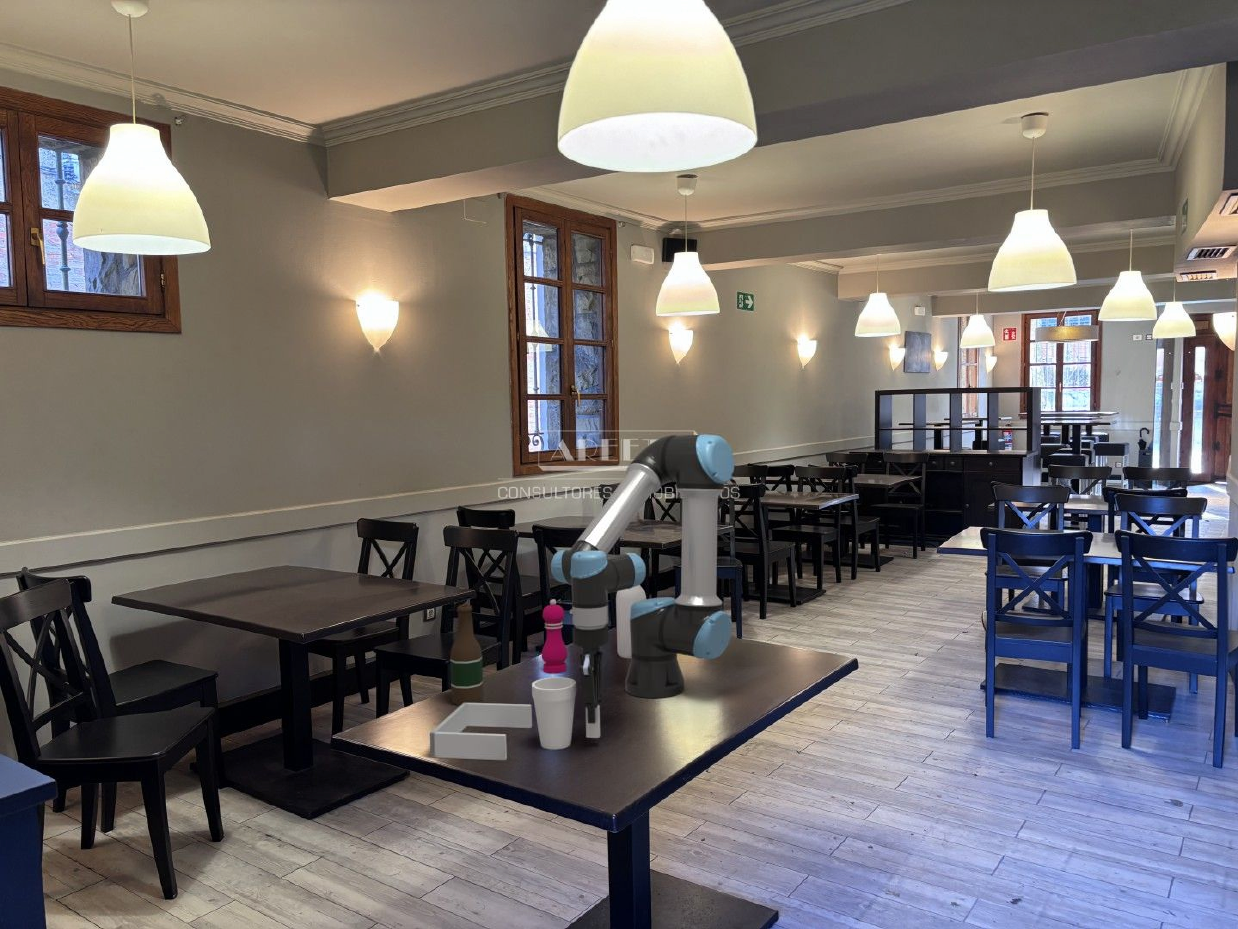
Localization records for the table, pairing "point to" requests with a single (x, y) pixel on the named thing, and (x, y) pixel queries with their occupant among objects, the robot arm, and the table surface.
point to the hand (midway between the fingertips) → (593, 736)
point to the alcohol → (626, 617)
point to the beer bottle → (466, 662)
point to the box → (478, 745)
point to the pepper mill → (554, 639)
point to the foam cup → (554, 710)
